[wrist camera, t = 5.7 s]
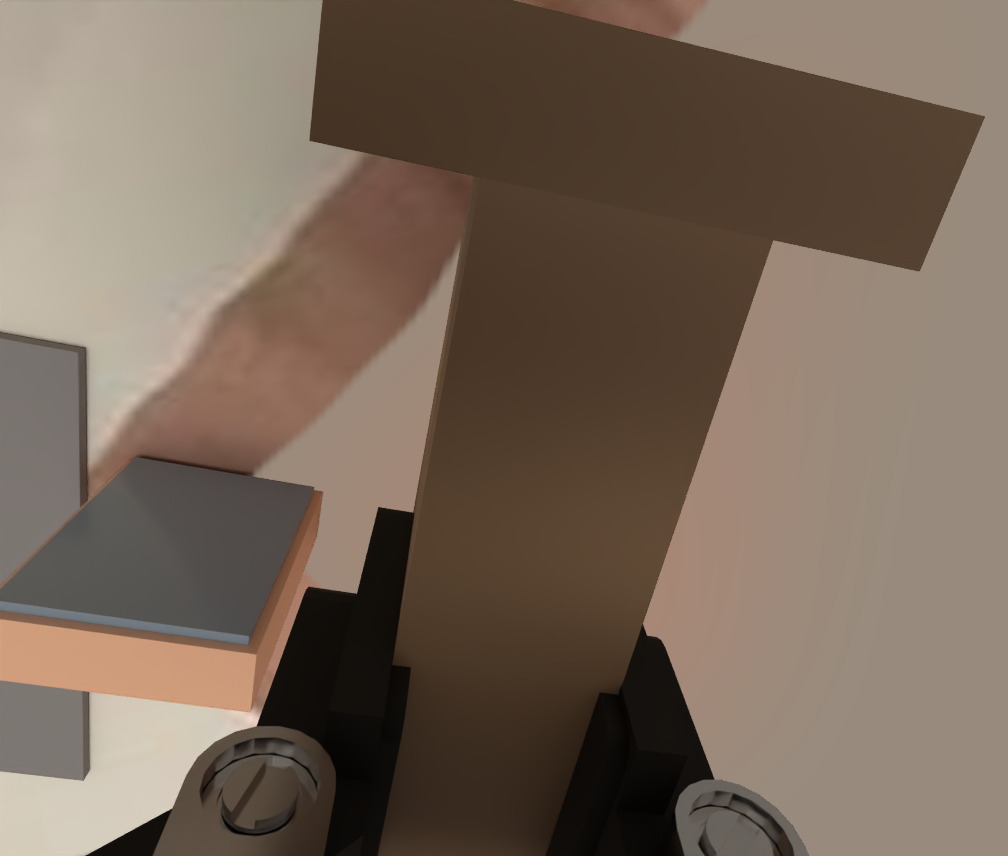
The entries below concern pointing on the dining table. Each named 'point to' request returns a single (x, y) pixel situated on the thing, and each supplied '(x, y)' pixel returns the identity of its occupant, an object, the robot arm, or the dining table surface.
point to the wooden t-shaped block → (585, 346)
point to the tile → (162, 587)
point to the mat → (41, 533)
